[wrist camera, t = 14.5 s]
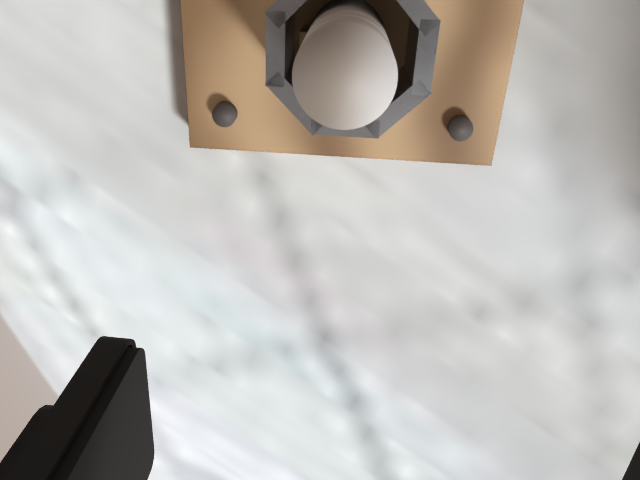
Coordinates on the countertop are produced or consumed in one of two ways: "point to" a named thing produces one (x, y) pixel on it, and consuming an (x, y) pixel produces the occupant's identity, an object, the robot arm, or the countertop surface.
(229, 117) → the shaft block
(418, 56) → the grey hollow octagonal piece
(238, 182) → the countertop surface
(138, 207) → the countertop surface
